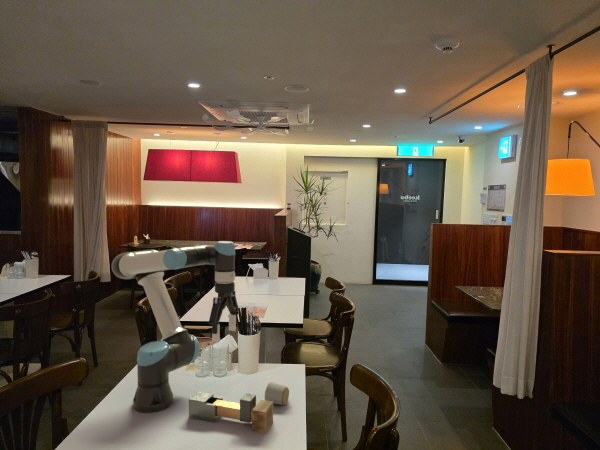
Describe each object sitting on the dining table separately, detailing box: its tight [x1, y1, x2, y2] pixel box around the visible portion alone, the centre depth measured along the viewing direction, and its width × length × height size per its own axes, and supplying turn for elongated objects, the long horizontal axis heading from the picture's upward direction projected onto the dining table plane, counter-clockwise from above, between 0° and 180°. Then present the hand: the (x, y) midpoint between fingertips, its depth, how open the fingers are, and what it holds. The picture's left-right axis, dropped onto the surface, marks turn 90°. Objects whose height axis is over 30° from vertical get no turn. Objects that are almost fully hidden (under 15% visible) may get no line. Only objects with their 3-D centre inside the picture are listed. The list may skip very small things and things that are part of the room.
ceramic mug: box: [264, 382, 290, 406], centre depth 169 cm, size 11×8×8 cm
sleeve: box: [188, 391, 224, 423], centre depth 156 cm, size 11×6×7 cm, turn 73°
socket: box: [251, 399, 274, 434], centre depth 150 cm, size 5×8×8 cm, turn 163°
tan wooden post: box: [213, 392, 257, 424], centre depth 152 cm, size 20×5×8 cm, turn 73°
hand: (224, 336), depth 161 cm, fingers open, 13 cm apart
